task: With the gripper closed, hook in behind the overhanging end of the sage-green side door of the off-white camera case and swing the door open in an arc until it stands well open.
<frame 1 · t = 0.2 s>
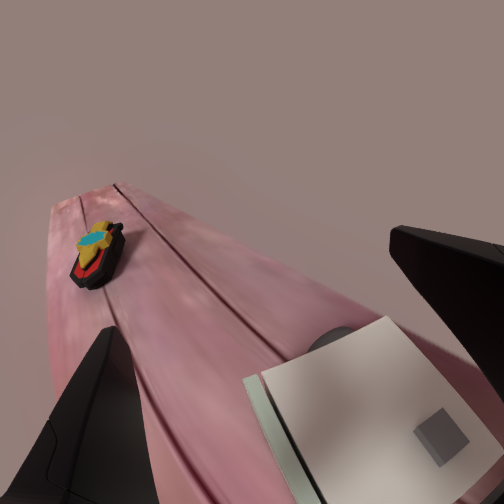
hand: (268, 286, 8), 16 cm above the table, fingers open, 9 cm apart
gadget: (103, 271, 43), on the table
camera case: (369, 449, 16), on the table
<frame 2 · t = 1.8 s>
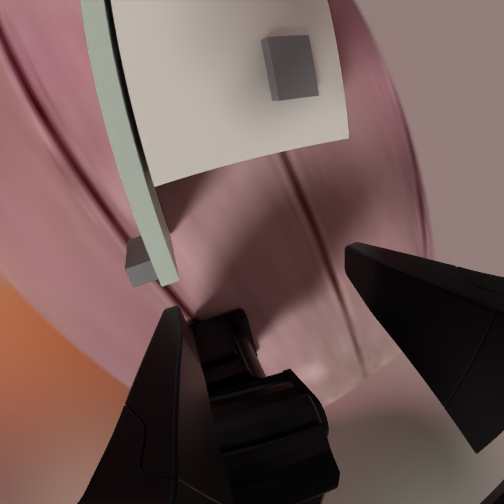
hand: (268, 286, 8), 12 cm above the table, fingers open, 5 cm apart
side door: (102, 103, 12), point 3 cm above the table, hinge at 0.0°
camera case: (209, 38, 14), on the table
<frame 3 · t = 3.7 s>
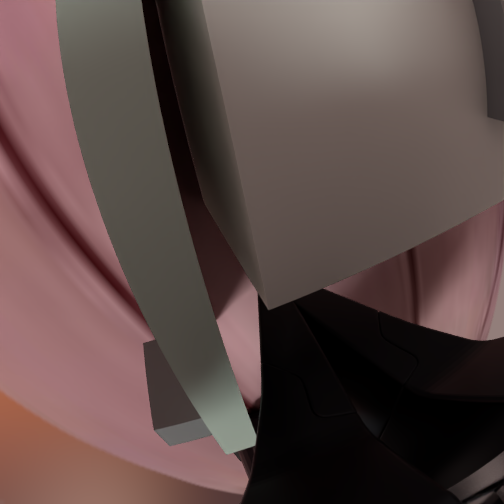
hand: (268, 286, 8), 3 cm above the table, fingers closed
side door: (81, 74, 4), point 3 cm above the table, hinge at 2.3°, touching gripper
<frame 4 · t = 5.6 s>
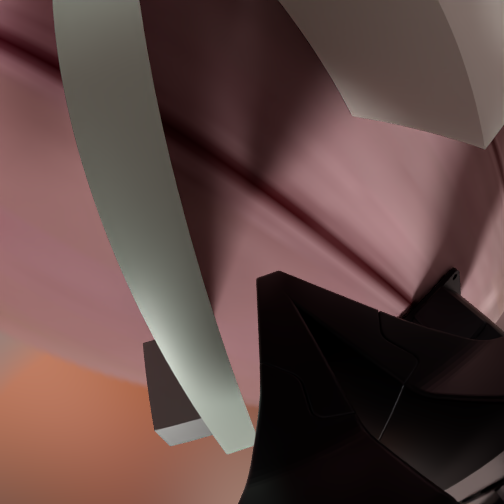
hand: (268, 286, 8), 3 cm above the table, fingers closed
side door: (79, 75, 4), point 3 cm above the table, hinge at 27.7°, touching gripper
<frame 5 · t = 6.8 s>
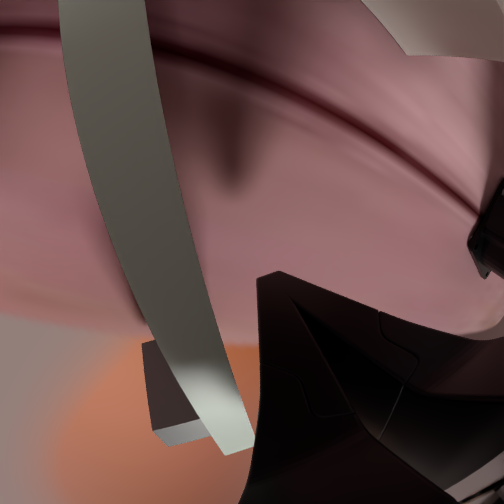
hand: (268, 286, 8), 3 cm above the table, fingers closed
side door: (82, 74, 4), point 3 cm above the table, hinge at 45.2°, touching gripper
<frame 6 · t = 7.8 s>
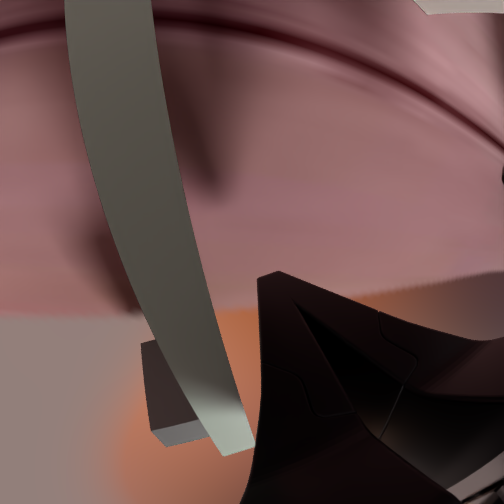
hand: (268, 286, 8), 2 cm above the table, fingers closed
side door: (85, 72, 4), point 3 cm above the table, hinge at 57.9°, touching gripper
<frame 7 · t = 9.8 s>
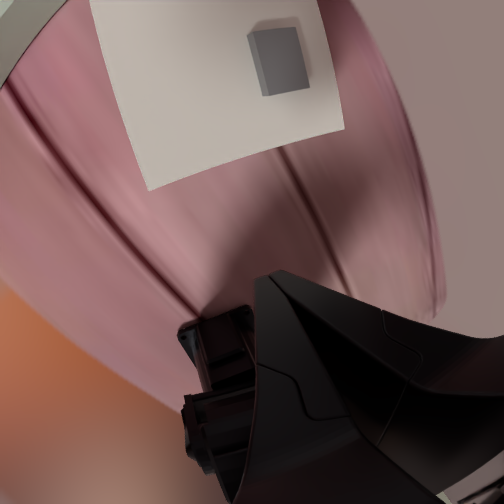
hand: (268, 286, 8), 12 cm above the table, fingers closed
camera case: (196, 36, 14), on the table
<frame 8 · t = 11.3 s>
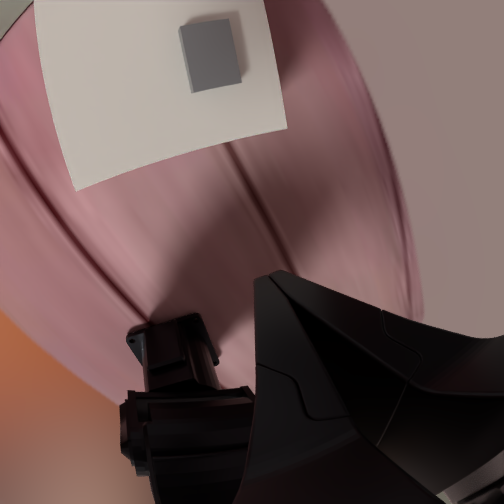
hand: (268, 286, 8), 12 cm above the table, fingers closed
camera case: (148, 35, 13), on the table
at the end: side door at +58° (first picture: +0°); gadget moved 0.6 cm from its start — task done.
